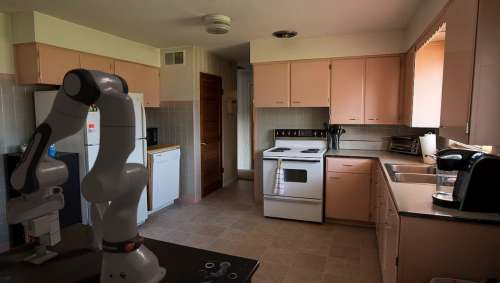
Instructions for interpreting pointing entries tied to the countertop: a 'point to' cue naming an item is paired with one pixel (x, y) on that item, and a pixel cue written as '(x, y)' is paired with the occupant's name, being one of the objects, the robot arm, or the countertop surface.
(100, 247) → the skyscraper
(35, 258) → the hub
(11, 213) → the robot arm
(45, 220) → the knob
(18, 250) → the countertop surface
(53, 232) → the syrup box
